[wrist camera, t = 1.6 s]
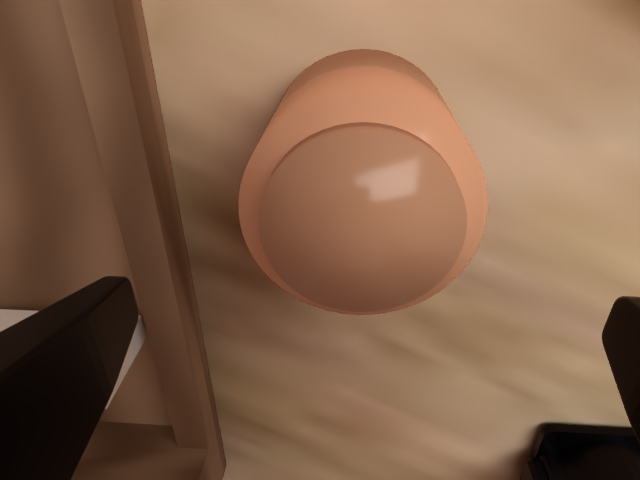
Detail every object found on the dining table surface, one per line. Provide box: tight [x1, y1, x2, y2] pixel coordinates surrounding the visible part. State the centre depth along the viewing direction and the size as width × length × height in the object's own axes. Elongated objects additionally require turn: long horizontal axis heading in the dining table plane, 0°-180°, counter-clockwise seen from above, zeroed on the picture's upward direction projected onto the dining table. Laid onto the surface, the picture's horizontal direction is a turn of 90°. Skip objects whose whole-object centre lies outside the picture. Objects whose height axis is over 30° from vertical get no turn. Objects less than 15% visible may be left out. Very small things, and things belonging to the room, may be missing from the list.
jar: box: [238, 49, 488, 315], centre depth 13 cm, size 6×6×6 cm
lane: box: [0, 0, 226, 480], centre depth 18 cm, size 11×26×5 cm, turn 0°
